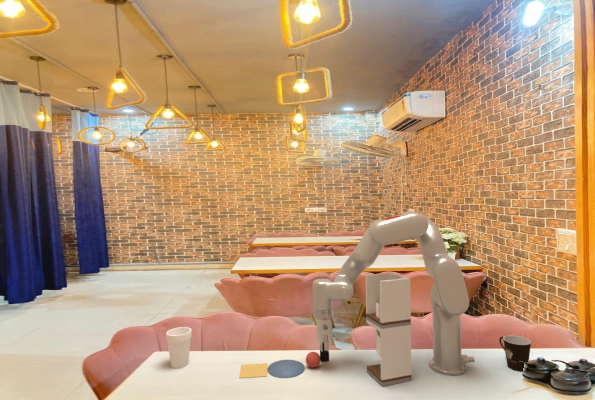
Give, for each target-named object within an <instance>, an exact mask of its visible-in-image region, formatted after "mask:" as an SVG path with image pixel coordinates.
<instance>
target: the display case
mask: <svg viewBox="0 0 595 400" xmlns="http://www.w3.org/2000/svg"><path fill="white" fill-rule="evenodd" d="M411 287H412V286H411V278H410V277H407V276H404V275H401V274H398V273H395V272H388V273H375V274H365V321H366V322H365V323H366V324H367V325H369V326H370V327H371V328H374V329H375V340H376V341H375V344H376V345H375V347H376V348H375V349H376V353H377V355H378V357H379V358H380V363H377V364H371V365H366V373H367V374H368V375H369V376H371V378H372V379H374V380H375V381H376V382H377V383H378V384H379V385H380V386H381V387H386V386H390V385H396V384H401V383H406V382H411V381H412V307H411V306H412V305H411V304H412V303H411V302H412V301H411V298H412V296H411V293H412V292H411Z"/></svg>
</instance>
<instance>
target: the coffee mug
mask: <svg viewBox="0 0 595 400" xmlns="http://www.w3.org/2000/svg"><path fill="white" fill-rule="evenodd" d="M502 339H503V343H502ZM498 341H499V344H500V346H501V347H502V349H503V351H504V353H505V359H506V366H507V367H508V368H509V369H510V370H513V371H515V372H523V368H524V363H523V362H528V361H530V356H531V355H530V354H531V345H532V342H531V341H532V340H530V339H528V338H526V337H524V336H519V335H505V336H500V337H499V340H498ZM519 361H523V362H519ZM523 373H524V372H523Z"/></svg>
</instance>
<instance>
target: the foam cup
mask: <svg viewBox="0 0 595 400" xmlns="http://www.w3.org/2000/svg"><path fill="white" fill-rule="evenodd" d="M192 331H193V330H192V328H190V327H187V326H182V327H181V326H179V327H174V328H170V329H168V330H167V331H166V333H165V338H166V342H167V347H168V348H167V349H168V353H169V360H170V365H171V366H172V367H173V368H172V369H182V368H185V367H187V366H188V365H189V361H190V360H189V359H190V352H191V350H190V349H191V341H192V340H191V339H192V337H193V336H192V335H193V334H192Z"/></svg>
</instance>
